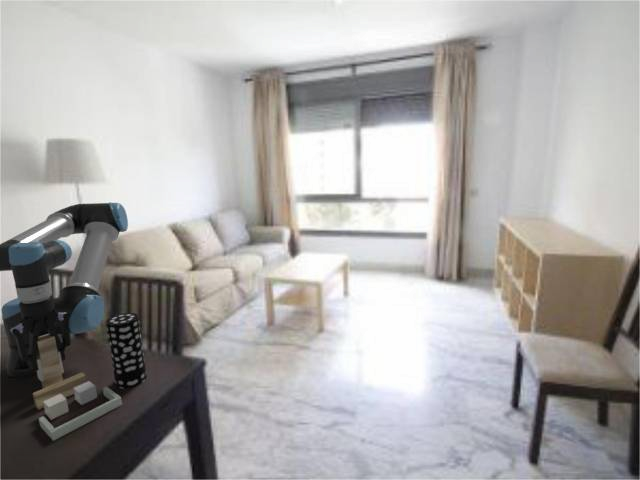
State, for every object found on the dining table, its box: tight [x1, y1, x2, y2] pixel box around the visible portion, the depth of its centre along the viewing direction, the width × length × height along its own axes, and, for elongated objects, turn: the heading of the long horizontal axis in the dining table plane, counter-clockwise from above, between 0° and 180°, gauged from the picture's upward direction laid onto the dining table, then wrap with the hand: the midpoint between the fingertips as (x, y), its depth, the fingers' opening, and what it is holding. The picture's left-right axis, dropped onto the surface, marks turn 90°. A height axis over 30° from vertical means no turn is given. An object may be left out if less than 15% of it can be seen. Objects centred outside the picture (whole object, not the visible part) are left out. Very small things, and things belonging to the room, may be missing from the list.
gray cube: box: [73, 380, 98, 406], centre depth 102 cm, size 4×4×4 cm
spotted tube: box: [105, 312, 148, 389], centre depth 108 cm, size 8×8×20 cm
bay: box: [38, 385, 123, 442], centre depth 95 cm, size 8×16×2 cm, turn 143°
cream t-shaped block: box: [32, 334, 88, 411], centre depth 103 cm, size 10×12×16 cm
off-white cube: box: [43, 394, 69, 421], centre depth 96 cm, size 4×4×4 cm
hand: (51, 375), depth 106 cm, fingers closed on cream t-shaped block, 4 cm apart
